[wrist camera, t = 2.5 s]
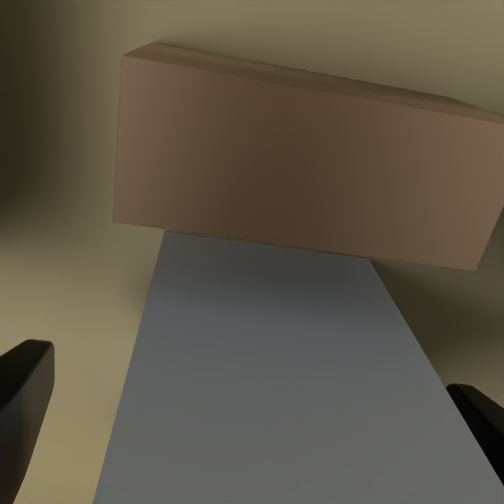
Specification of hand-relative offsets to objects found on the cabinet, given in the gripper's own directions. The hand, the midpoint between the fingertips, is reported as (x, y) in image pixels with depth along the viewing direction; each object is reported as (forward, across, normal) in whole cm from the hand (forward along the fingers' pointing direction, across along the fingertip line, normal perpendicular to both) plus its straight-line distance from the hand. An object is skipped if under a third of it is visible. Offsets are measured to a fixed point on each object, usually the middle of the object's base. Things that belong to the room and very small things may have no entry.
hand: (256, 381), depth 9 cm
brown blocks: (+2, 0, 0) cm, 2 cm away
